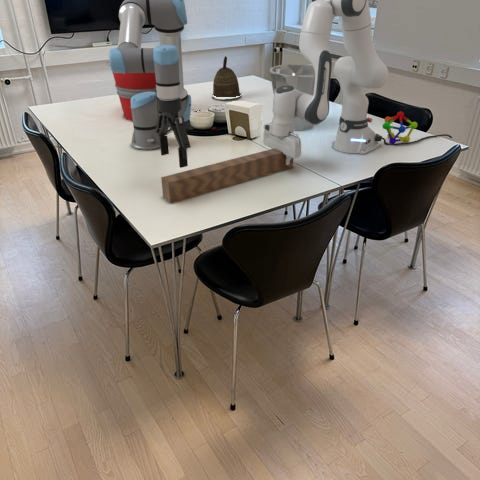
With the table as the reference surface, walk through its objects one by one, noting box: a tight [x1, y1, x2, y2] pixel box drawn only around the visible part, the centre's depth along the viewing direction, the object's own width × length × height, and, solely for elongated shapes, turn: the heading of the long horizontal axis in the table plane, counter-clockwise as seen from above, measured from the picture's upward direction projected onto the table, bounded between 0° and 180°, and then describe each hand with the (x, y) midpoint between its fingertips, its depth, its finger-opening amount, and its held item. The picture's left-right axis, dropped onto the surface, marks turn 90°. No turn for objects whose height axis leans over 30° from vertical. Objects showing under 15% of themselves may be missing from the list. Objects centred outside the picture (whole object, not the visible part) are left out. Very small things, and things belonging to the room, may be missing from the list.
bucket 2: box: [269, 63, 315, 131], centre depth 226 cm, size 30×30×28 cm
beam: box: [161, 148, 294, 204], centre depth 171 cm, size 57×6×8 cm, turn 125°
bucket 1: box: [105, 60, 157, 122], centre depth 239 cm, size 35×35×30 cm
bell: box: [212, 56, 242, 97], centre depth 278 cm, size 19×26×20 cm
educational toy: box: [382, 110, 418, 144], centre depth 207 cm, size 16×13×15 cm
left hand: (174, 160), depth 153 cm, fingers open, 13 cm apart
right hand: (280, 161), depth 183 cm, fingers open, 6 cm apart
